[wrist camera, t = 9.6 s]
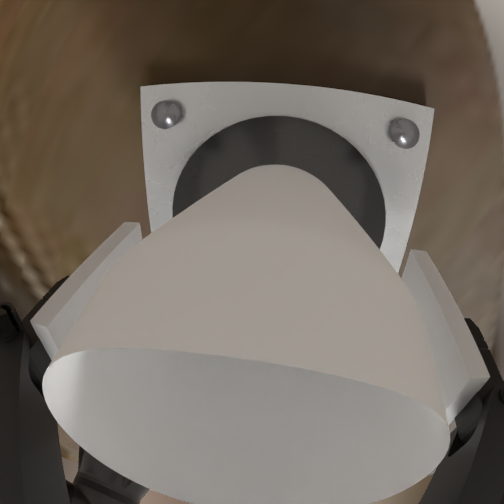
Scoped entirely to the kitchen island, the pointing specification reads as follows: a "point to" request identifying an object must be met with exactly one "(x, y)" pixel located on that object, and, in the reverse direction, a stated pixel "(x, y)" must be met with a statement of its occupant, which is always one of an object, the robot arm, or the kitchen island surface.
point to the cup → (255, 356)
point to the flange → (288, 148)
